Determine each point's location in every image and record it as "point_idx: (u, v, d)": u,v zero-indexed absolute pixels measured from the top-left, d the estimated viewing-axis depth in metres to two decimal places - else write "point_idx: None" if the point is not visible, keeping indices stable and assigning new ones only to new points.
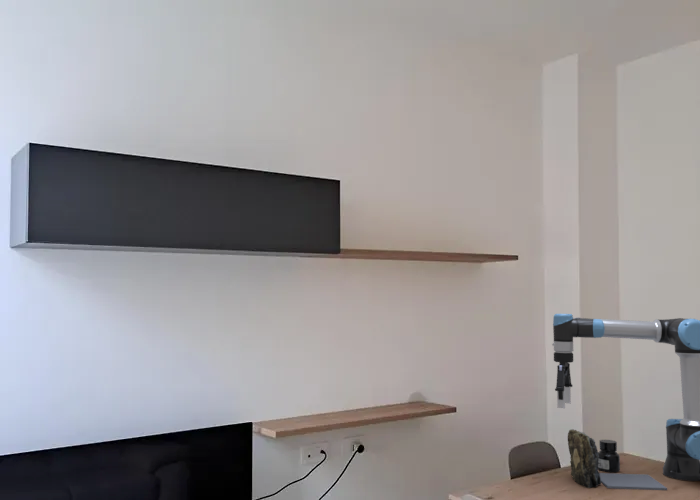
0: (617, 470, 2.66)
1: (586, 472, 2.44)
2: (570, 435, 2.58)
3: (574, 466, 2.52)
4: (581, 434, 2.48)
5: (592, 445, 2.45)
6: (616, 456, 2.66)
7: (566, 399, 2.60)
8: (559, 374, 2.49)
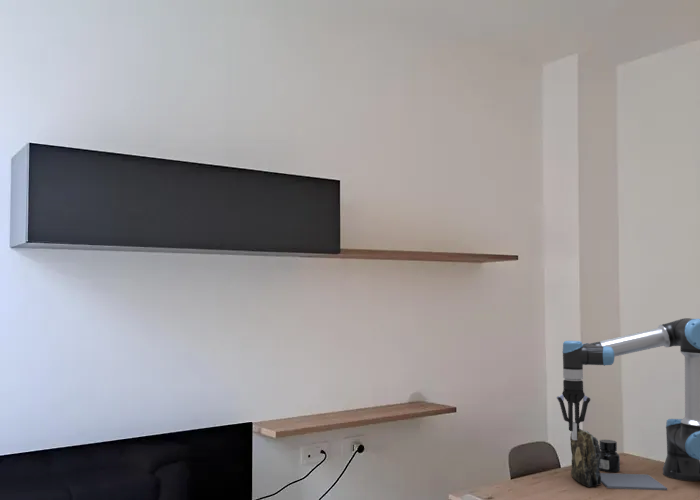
0: (617, 470, 2.66)
1: (587, 471, 2.44)
2: None
3: (575, 464, 2.52)
4: (585, 433, 2.49)
5: (595, 444, 2.45)
6: (616, 456, 2.66)
7: None
8: (560, 406, 2.55)
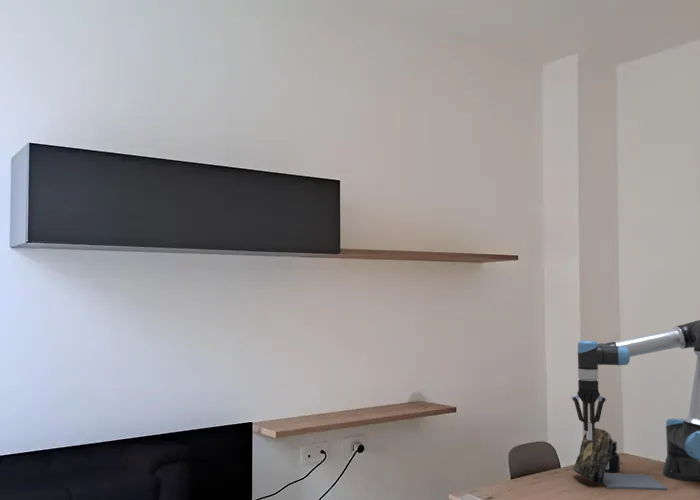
0: (617, 470, 2.66)
1: (593, 465, 2.45)
2: None
3: (582, 459, 2.53)
4: (603, 431, 2.50)
5: (610, 444, 2.46)
6: (616, 456, 2.66)
7: None
8: (575, 406, 2.55)
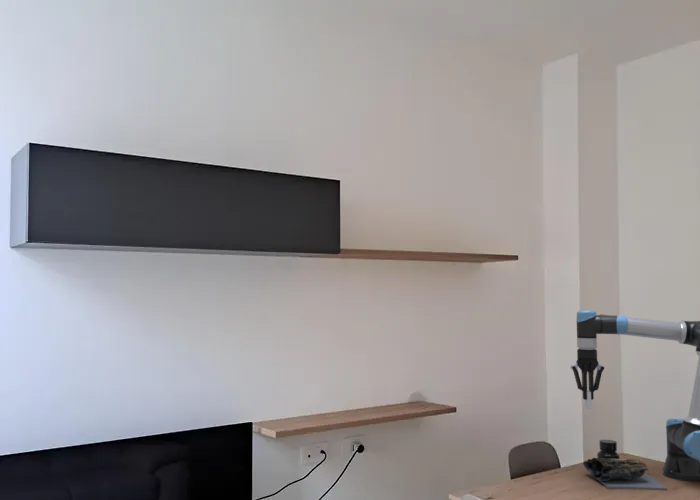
0: None
1: (615, 463, 2.47)
2: None
3: None
4: (644, 464, 2.51)
5: (640, 472, 2.47)
6: (616, 456, 2.66)
7: None
8: None
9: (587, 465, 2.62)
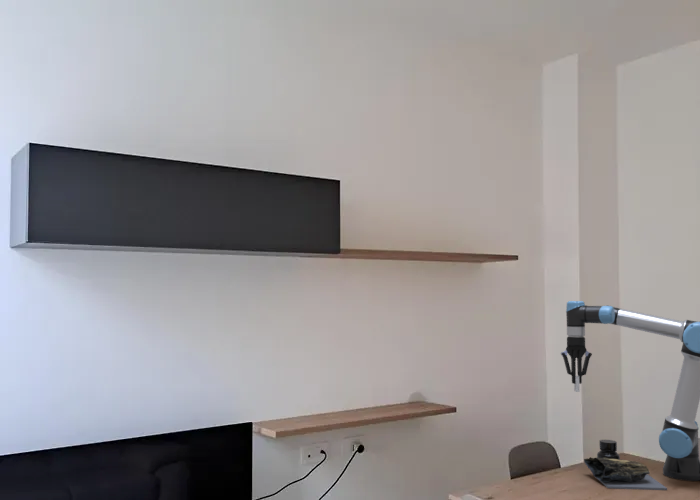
0: None
1: (617, 465, 2.46)
2: None
3: (608, 458, 2.54)
4: (646, 467, 2.51)
5: (641, 475, 2.47)
6: (616, 456, 2.66)
7: None
8: (564, 360, 2.77)
9: (588, 462, 2.61)
